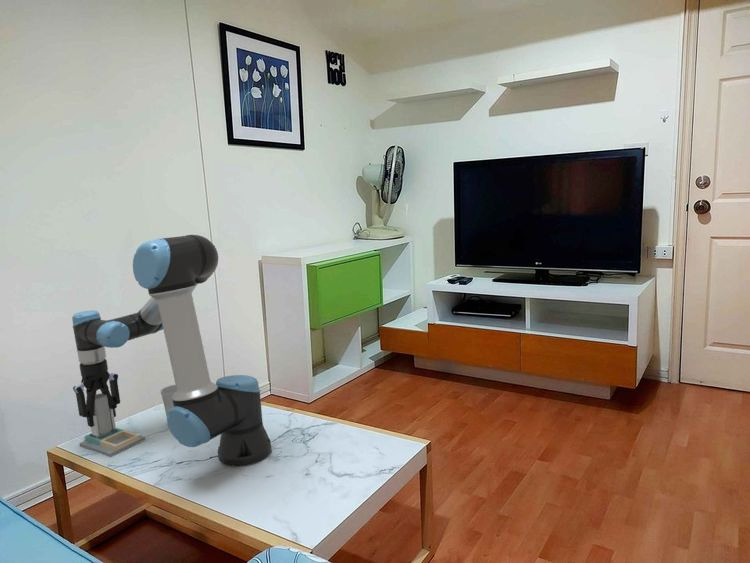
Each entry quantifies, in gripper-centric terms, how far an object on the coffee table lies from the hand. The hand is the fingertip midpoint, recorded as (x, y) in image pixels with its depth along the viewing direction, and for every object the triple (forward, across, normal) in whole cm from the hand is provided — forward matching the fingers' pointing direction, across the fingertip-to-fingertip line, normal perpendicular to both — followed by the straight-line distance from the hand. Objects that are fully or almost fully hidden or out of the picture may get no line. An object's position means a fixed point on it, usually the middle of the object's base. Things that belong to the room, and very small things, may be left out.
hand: (103, 431), depth 170 cm
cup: (+3, -19, +11) cm, 22 cm away
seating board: (+3, 0, +4) cm, 5 cm away
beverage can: (0, 0, 0) cm, 0 cm away
